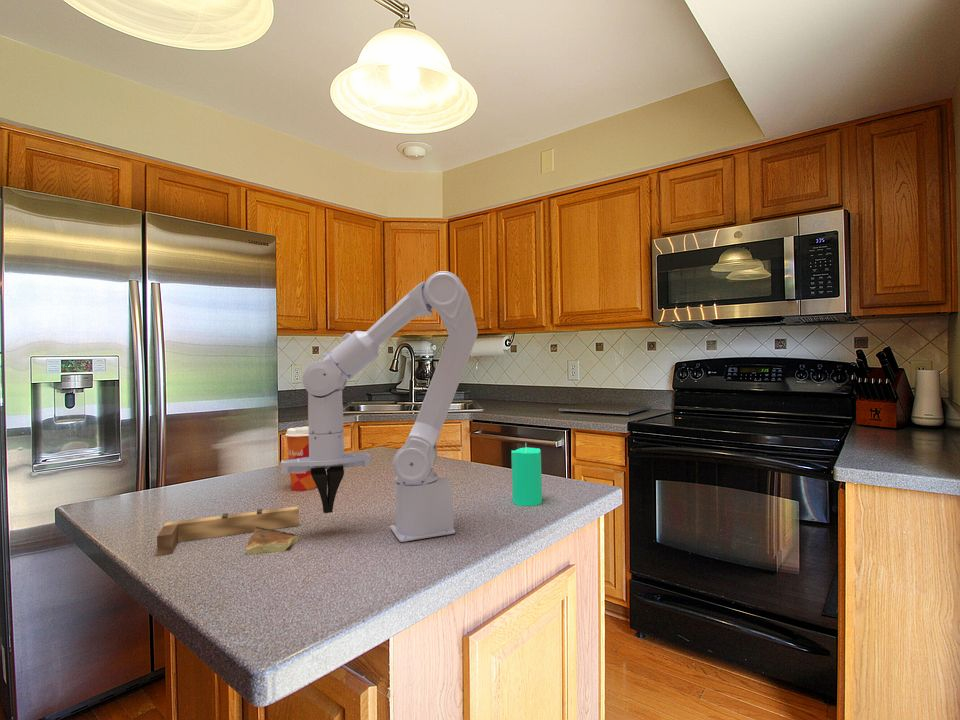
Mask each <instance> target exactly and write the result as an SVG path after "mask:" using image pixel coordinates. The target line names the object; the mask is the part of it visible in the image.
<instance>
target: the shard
mask: <svg viewBox="0 0 960 720" xmlns="http://www.w3.org/2000/svg"><path fill="white" fill-rule="evenodd" d="M299 539H300V535H297V534H293V533H291V532H290V533H289V532H285V531H281V530H277V529H271V530H270V529H264V528H259V527H256V529H255V532H253V533H252V534H251V536H250V538H248V541H247V544H246V547H245V554H246V555H247V556H249V555H250V556H251V555H258V554H267V553H278V552H285V551H286V550H287V549H288V548H289V547H290V546H292V545H293V544H296V543H297V542H299Z"/></svg>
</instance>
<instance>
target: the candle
mask: <svg viewBox="0 0 960 720" xmlns="http://www.w3.org/2000/svg"><path fill="white" fill-rule="evenodd" d="M525 445H527V442H525ZM510 454H511V483H512V484H511V489H512V493H511V494H512V497H511V498H512V503H513V504H514V505H517V506H519V507H520V506H522V507H534V506H538V505H541V504H542V503H543V489H542V488H543V487H542V485H543V483H542V481H543V480H542V479H543V478H542V450H541V449H540V447H539V448H537V447H527V446H526V447H519V448H517V449H515V450H512V449H511V453H510Z"/></svg>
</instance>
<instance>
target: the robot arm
mask: <svg viewBox="0 0 960 720" xmlns="http://www.w3.org/2000/svg"><path fill="white" fill-rule="evenodd" d="M471 301H472V300H471V298H470V295H469V293H468V291H467V289H466V287H465V286H464V284H463V283H462V281H461V279H460V278H459V277H458V276H457V275H456V274H455V273H453V272H451V271H445V270H442V271H436V272H435V273H433V274H431V275H429V276H428V278H427V280H426V282H425V281H422V282H420V283H419V284H417V285H416V286H414V288H413V289H411V290H410V291H408V293H407V294H406V295H404V296H403V297H402V298H401V299H400V300H399V301H398V302H397V303H396V304H395V305H393V307H391V308H390V309H389V310H388V311H387V312H386V313H385V314H383V316H382V317H380V318H379V319H378V320H377V321H375V323H374V324H373V325H372V326H370V328H368V329H367V330H365V331H362V330H355V331H354V332H352V333H350V332H346V333H345V334H344V335H343V336H342V339H343V340H342V341H341V342H340V343H339V344H338V345H336V347H335V348H334V347H333V349H332V350H331V351H329V352H324V353H323V354H322V355H321V357H322V360H314V361H312V362H310V363H309V364H308V366H307V367H306V368H305V370H304V372H303V374H302V384H303V387H304V389H305V390H306V392H307V396H308V397H307V399H308V401H307V403H308V405H307V414H308V415H307V418H308V419H307V422H308V423H307V424H308V425H307V427H308V428H309V457H305V458H298V459H291V460H289V459H284V460H280V463H281V464H280V469H281V472H280V473H281V475H287V474H290V472H301V471H310V473H311V476H312V478H313V480H314V482H315V484H316V488H317V490H318V494H319V496H320V500H321V505H322V512H323V514H330V513H333V510H334V503H335V499H336V495H337V493H338V490H339V486H340V485H341V482H342V480H343V478H344V476H345V469H344V468H350V467H351V468H353V467H363V466H364V467H370V466H372V465H371V454H370V453H368V452H364V453H345V447H344V445H345V442H344V441H345V440H344V438H345V437H344V433H345V432H344V405H343V390H344V389H345V387H346V385H347V383H348V381H349V380H352V379H353V378H354V377H355V376H356V375H357V374H359V373H361V371H362V370H364V369H365V368H366V367H367V366H368V365H370V363H372V362H373V361H374V360H375V359H377V358H378V356H379V350H380V345H382V344H383V343H384V342H386V341H387V340H388V339H389V338H391V337H392V336H393V335H394V334H396V333H397V332H399V330H401V329H402V328H404V327H405V326H406V325H407V324H409V323H410V322H411V321H412V320H414V319H415V318H417V317H418V318H420V317H427V316H432V315H434V313H433V310H434V311H435V312H436V313H437V314H438V316H440V320H441V321H442V323H443V325H444V328H445V329H446V331H447V335H448V336H447V339H446V341H445V343H444V346H443V349H442V351H441V354H440V357H439V360H438V362H437V365H436V368H435V370H434V372H433V375H432V378H431V380H430V382H429V386H428V388H427V391H426V393H425V394H424V395H425V396H424V399H423V400H422V403H421V406H420V409H419V411H418V413H417V414H418V415H417V416H416V419H415V422H414V423H413V426H412V428H411V430H410V432H409V434H408V435H407V439H406V441H405V443H404V444H403V445H402V447H400V448H399V449H398V450H397V451H396V452H395V454H394V456H393V459H392V468H393V472H394V474H395V478H394V486H395V487H394V492H395V494H394V496H395V524H391V525H389V528H390V530H391V531H392V533H393V534H394V535H395V537H396V539H397V540H398V542H400V543H403V542H404V543H405V542H409V541H415V540H422V539H428V538H434V537H435V538H436V537H440V536H447V535H453V534H455V533H456V530H455V526H454V525H455V524H454V523H455V521H454V517H455V516H454V494H453V492H454V491H453V486H452V483H451V481H450V479H449V478H448V477H446V476H440V477H438V475H439V474H437V473H436V471H435V470H434V468H433V466H434V465H435V463H436V461H437V457H438V450H437V443H438V440H439V438H440V436H441V435H440V434H441V432H442V429H443V427H444V423H445V421H446V418H447V416H448V414H449V410H450V407H451V405H452V403H453V400H454V398H455V395H456V394H457V393H456V392H457V390H458V387H459V384H460V382H461V379H462V376H463V374H464V372H465V369H466V366H467V364H468V361H469V358H470V355H471V353H472V351H473V348H474V346H475V343H476V340H477V337H478V333H479V331H478V327H477V322H476V318H475V314H474V309H473V305H472V302H471ZM432 309H433V310H432Z"/></svg>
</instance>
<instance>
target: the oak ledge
mask: <svg viewBox="0 0 960 720" xmlns="http://www.w3.org/2000/svg"><path fill="white" fill-rule="evenodd" d="M299 510H300V509H299V506H298V505H297V506H290V507H280V508H273V509H272V508H271V509H264V510H263V509H262V508H259V509H256V511H248V512H241V513H239V512H238V513H233V514H232V513H231V514H229V513H228V512H227V513H226V512H225V513H222V515H217V516H215V515H214V516H209V517H208V516H207V517H199V518H191V519H185V520H183V519H182V520H177V521H176V520H175V521H168V522H165V523H164V525H163V527H162V528H161V530H160V531H159V532H158V534H157V535H156V547H157V548H156V550H157V553H156V554H157V556H158V557H159V556H163V555H164V556H165V555H166V556H167V555H171V554H173V553H174V551H175V549H176V547H177V546H178V543H183V542H189V541H197V540H204V539H205V540H206V539H211V538H212V539H213V538H218V537H226V536H233V535H240V534H241V535H242V534H248V533H254V532H255V529H256V527H259V528H264V529H270V530H277V529H285V528H292V527H299V526H300V515H299V514H300V512H299Z"/></svg>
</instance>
